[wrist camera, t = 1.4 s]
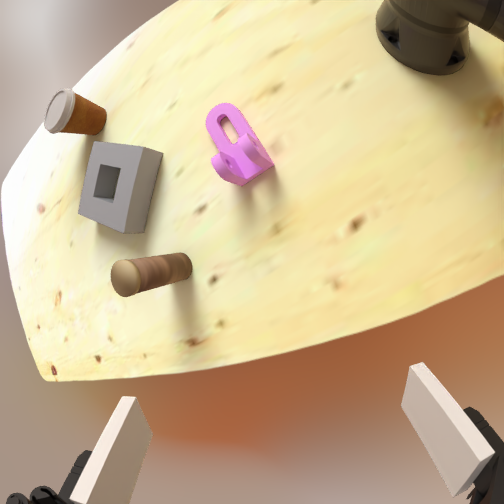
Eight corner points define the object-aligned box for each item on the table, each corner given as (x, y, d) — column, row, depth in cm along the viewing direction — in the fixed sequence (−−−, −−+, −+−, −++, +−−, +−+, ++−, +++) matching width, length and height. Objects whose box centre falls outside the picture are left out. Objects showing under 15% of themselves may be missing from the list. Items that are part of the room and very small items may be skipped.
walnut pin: (172, 248, 46) (113, 255, 34) (195, 257, 44) (138, 267, 32) (166, 274, 47) (108, 288, 34) (189, 284, 45) (132, 302, 33)
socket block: (112, 145, 50) (94, 141, 45) (162, 152, 45) (143, 146, 41) (97, 213, 52) (78, 213, 48) (143, 232, 48) (123, 233, 43)
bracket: (274, 165, 39) (257, 153, 32) (242, 186, 41) (219, 178, 34) (232, 99, 40) (211, 81, 34) (204, 120, 42) (180, 105, 36)
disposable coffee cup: (109, 136, 50) (63, 123, 39) (82, 146, 53) (40, 138, 42) (114, 95, 49) (71, 79, 38) (87, 109, 53) (47, 96, 42)
